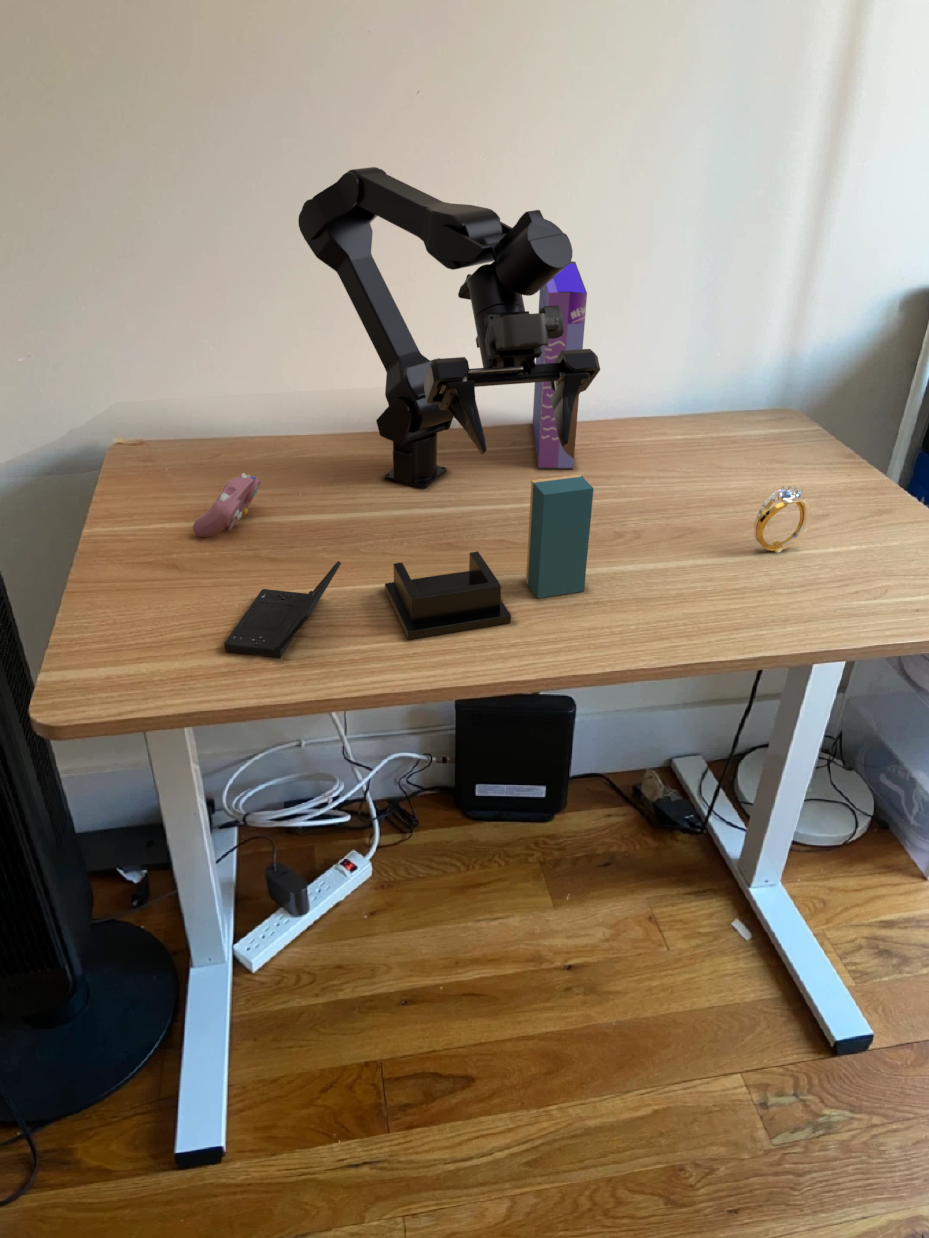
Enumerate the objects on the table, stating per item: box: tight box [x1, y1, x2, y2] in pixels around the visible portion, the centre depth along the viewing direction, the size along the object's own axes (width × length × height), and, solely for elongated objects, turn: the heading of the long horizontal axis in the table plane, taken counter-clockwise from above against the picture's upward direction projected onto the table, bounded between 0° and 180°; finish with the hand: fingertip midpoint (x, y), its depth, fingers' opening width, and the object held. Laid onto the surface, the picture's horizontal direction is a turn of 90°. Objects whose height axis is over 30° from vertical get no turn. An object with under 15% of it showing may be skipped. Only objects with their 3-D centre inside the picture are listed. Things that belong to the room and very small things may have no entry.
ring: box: [753, 485, 812, 553], centre depth 110 cm, size 7×3×8 cm, turn 105°
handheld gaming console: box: [223, 560, 342, 658], centre depth 96 cm, size 12×7×10 cm
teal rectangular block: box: [525, 474, 595, 599], centre depth 101 cm, size 4×6×12 cm, turn 108°
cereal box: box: [532, 260, 588, 470], centre depth 132 cm, size 17×5×24 cm, turn 179°
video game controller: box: [192, 472, 262, 538], centre depth 115 cm, size 10×5×7 cm, turn 168°
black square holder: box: [384, 551, 512, 641], centre depth 100 cm, size 10×11×4 cm
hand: (525, 449), depth 103 cm, fingers open, 9 cm apart
